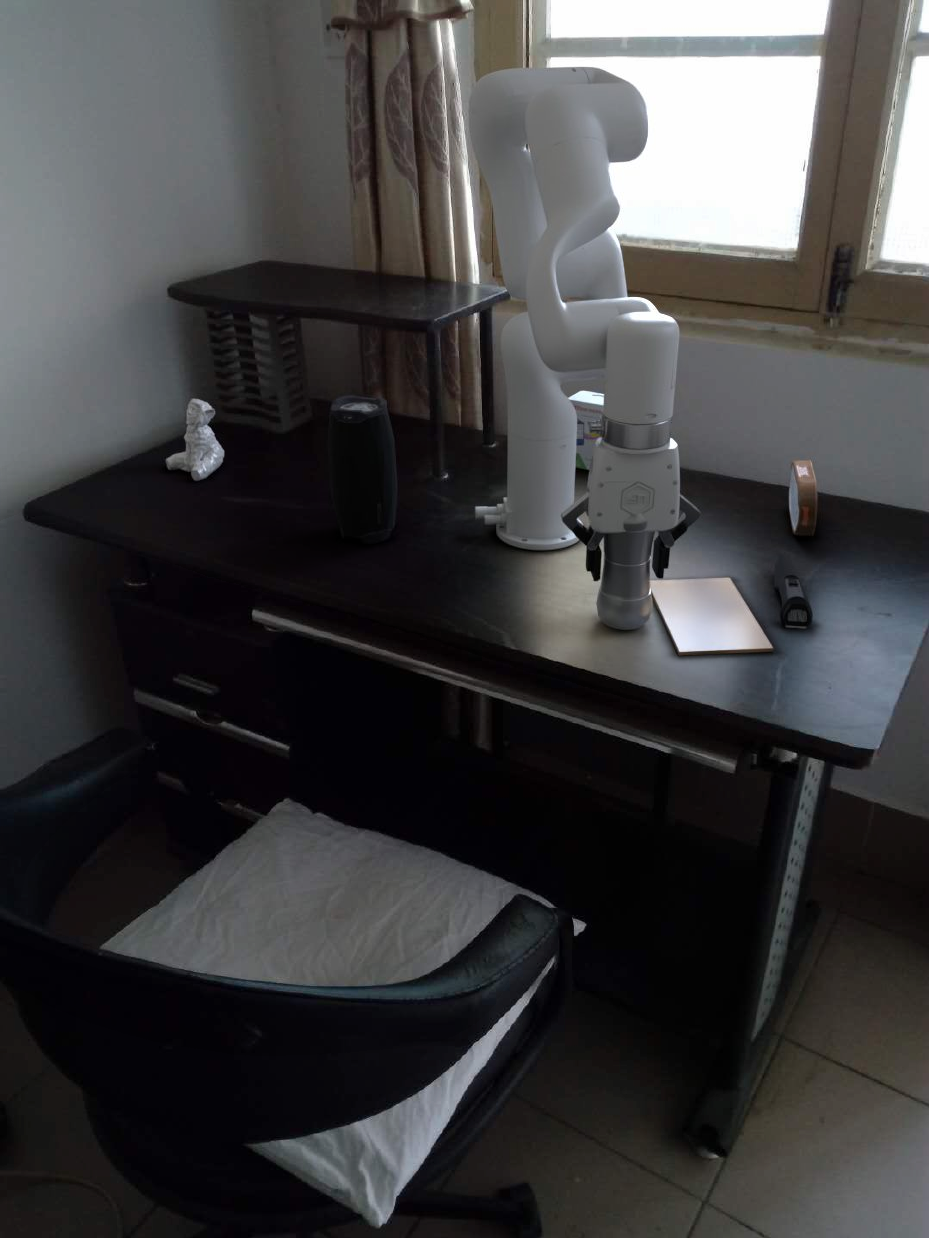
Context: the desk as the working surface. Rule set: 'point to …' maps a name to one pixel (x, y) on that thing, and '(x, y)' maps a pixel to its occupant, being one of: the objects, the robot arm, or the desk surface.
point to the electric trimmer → (791, 594)
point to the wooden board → (707, 617)
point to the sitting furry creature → (198, 443)
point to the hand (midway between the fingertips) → (626, 573)
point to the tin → (803, 498)
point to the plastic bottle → (626, 576)
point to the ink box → (586, 424)
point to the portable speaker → (362, 467)
